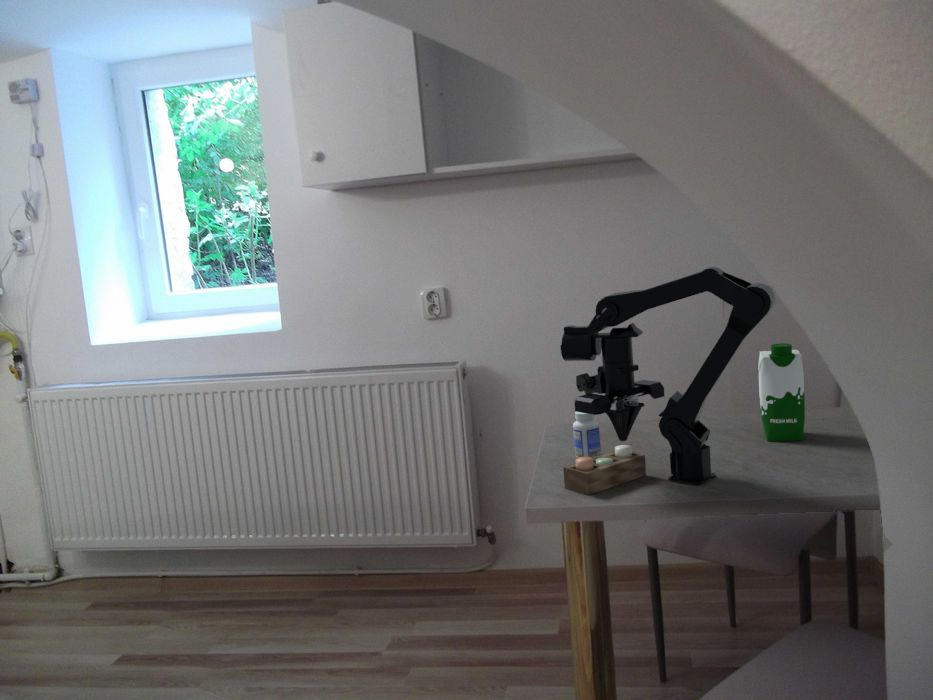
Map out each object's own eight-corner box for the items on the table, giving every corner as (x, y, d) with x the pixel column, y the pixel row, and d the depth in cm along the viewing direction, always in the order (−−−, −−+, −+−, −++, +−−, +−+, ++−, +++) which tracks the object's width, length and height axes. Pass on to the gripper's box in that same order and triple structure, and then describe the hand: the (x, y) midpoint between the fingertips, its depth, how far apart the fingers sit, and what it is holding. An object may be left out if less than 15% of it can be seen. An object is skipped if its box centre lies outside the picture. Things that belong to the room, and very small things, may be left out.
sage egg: (605, 467, 160) (604, 456, 160) (617, 470, 158) (616, 459, 158) (593, 471, 159) (592, 460, 158) (605, 474, 156) (604, 463, 156)
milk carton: (763, 442, 175) (759, 347, 172) (759, 431, 183) (755, 341, 180) (808, 441, 172) (805, 345, 169) (802, 430, 181) (799, 338, 178)
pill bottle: (602, 452, 178) (599, 407, 176) (599, 460, 173) (596, 414, 171) (577, 453, 179) (573, 408, 178) (573, 460, 174) (570, 414, 173)
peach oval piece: (585, 467, 157) (584, 456, 157) (597, 470, 155) (596, 459, 154) (572, 471, 156) (571, 460, 155) (584, 474, 153) (583, 463, 153)
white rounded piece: (623, 455, 163) (623, 444, 163) (635, 457, 161) (635, 446, 160) (611, 458, 161) (611, 447, 161) (624, 461, 159) (623, 450, 158)
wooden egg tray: (621, 469, 165) (620, 449, 165) (646, 475, 160) (644, 454, 160) (564, 487, 157) (563, 467, 156) (588, 495, 152) (587, 473, 151)
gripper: (621, 349, 170) (626, 424, 172) (552, 365, 159) (558, 444, 162) (664, 353, 161) (668, 432, 163) (593, 370, 150) (599, 454, 153)
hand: (623, 440), depth 160 cm, fingers closed
